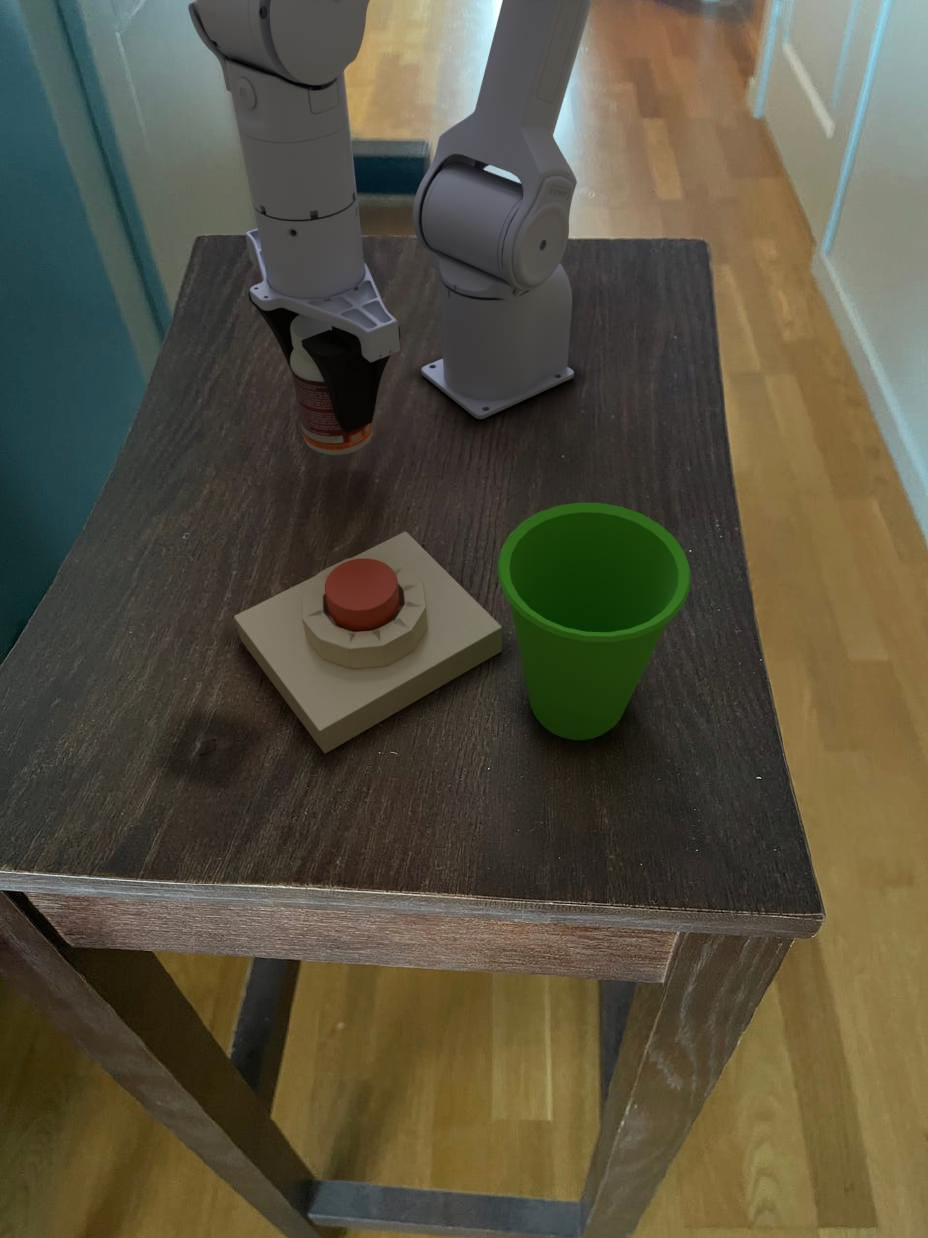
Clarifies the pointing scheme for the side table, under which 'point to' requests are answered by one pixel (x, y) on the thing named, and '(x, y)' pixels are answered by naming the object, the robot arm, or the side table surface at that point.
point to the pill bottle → (319, 398)
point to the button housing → (368, 645)
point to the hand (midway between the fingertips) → (335, 405)
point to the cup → (589, 609)
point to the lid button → (362, 594)
